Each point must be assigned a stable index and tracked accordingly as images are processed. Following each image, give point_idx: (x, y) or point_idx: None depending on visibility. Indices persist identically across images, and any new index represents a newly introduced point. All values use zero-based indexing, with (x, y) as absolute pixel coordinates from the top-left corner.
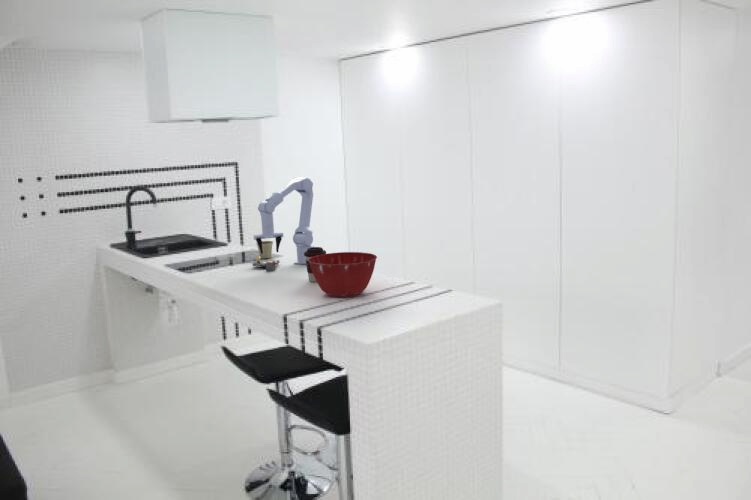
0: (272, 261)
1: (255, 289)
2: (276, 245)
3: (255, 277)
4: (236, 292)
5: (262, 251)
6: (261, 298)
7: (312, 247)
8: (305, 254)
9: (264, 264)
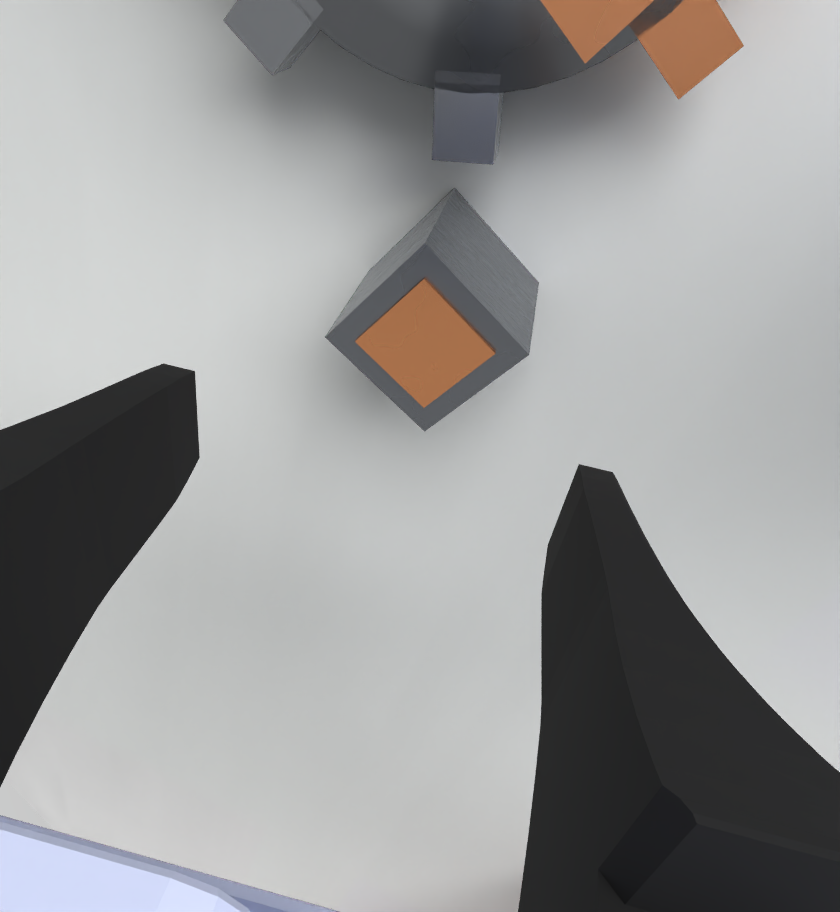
0: (462, 368)
1: (157, 793)
2: (580, 627)
3: (176, 523)
4: (39, 772)
5: (167, 501)
6: None
7: None
8: None
9: (373, 65)
